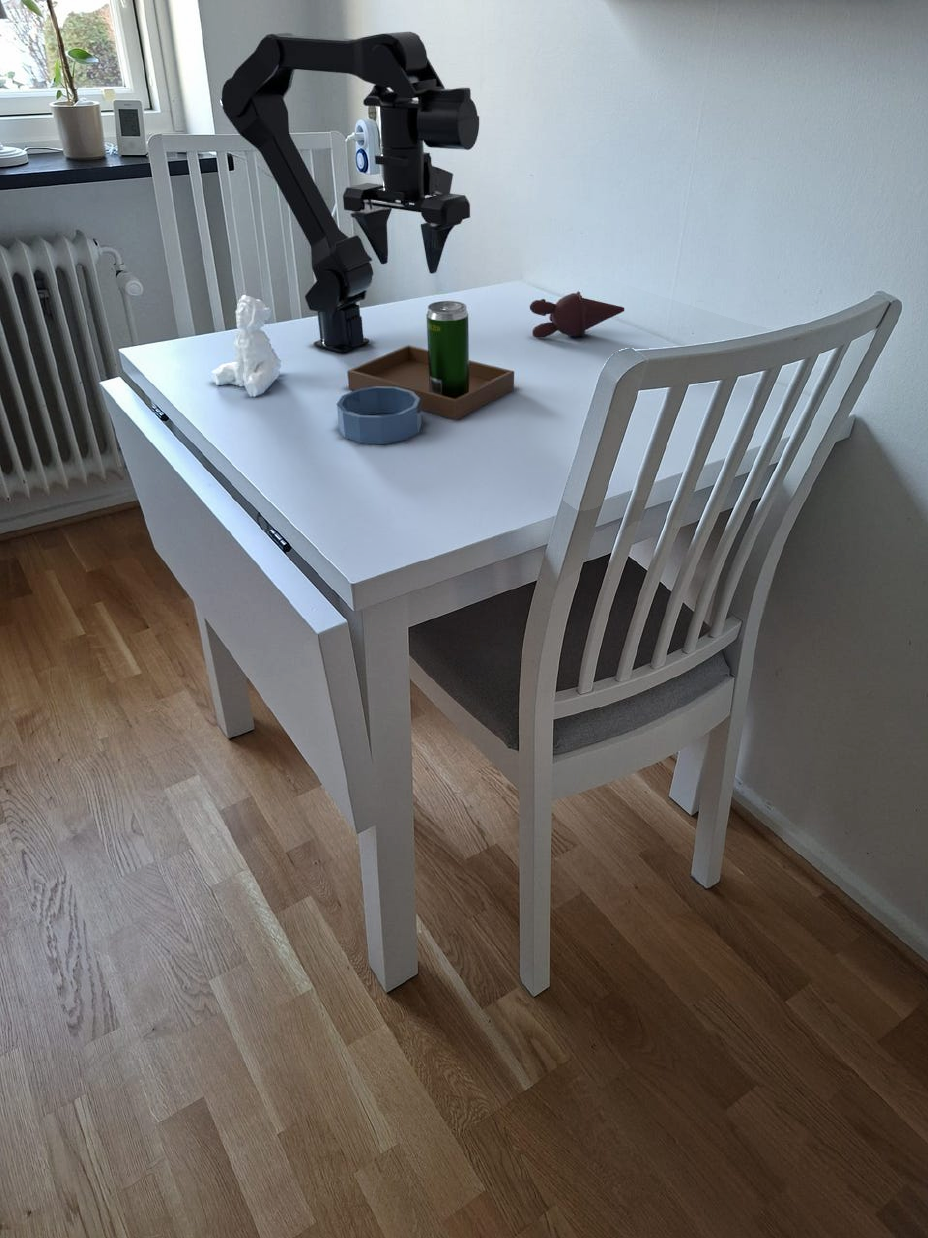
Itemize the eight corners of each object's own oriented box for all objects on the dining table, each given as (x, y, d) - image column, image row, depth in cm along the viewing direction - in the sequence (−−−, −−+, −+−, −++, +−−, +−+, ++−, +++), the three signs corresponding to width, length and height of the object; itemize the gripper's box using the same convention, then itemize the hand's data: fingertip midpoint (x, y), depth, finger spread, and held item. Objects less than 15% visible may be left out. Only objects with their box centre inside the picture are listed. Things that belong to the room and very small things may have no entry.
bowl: (324, 431, 110) (321, 404, 108) (377, 405, 117) (375, 380, 115) (384, 451, 105) (382, 424, 103) (436, 423, 112) (435, 397, 110)
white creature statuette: (210, 383, 124) (193, 298, 117) (255, 366, 130) (242, 283, 123) (254, 398, 120) (240, 309, 113) (299, 379, 125) (288, 294, 118)
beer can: (454, 407, 115) (452, 315, 108) (421, 398, 117) (417, 308, 110) (477, 394, 118) (476, 304, 111) (445, 386, 121) (442, 298, 114)
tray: (348, 388, 122) (347, 370, 121) (409, 361, 131) (408, 344, 129) (456, 420, 113) (456, 401, 111) (514, 389, 121) (514, 371, 120)
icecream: (618, 285, 140) (526, 296, 140) (628, 285, 133) (531, 297, 133) (620, 330, 142) (530, 341, 142) (630, 332, 135) (535, 344, 135)
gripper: (494, 143, 116) (493, 265, 125) (389, 133, 125) (395, 248, 134) (442, 154, 109) (445, 282, 118) (335, 143, 118) (346, 263, 127)
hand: (408, 268), depth 125 cm, fingers open, 9 cm apart
